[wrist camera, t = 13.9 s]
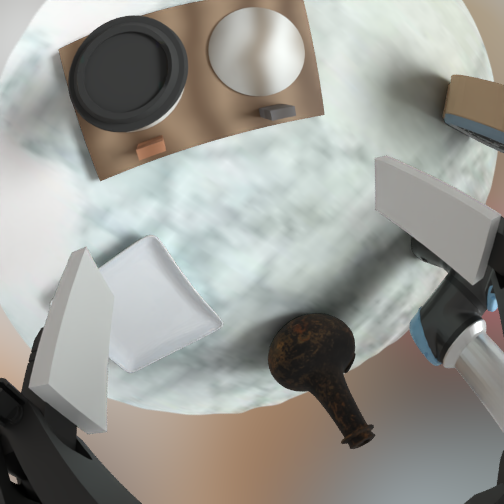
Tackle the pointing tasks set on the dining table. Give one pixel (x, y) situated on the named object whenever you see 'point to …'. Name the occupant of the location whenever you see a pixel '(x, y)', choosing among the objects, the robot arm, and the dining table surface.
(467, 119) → the alarm clock
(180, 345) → the salad plate
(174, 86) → the coffee cup
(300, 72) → the tag board
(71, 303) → the robot arm
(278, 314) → the dining table surface
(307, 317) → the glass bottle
